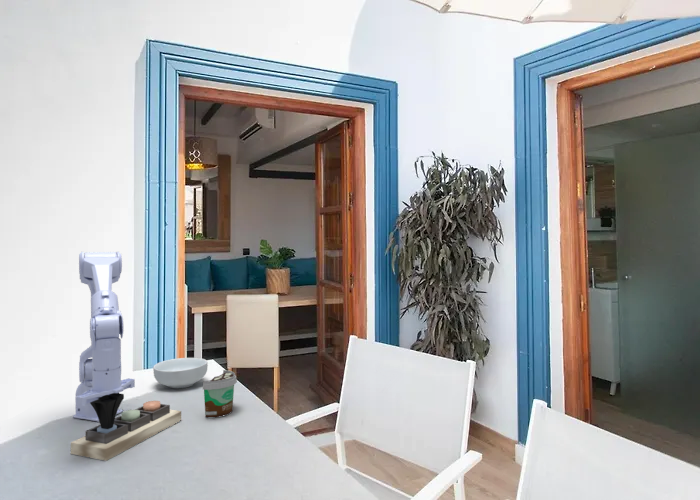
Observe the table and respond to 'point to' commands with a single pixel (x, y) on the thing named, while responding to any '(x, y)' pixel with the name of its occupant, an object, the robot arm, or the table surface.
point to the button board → (124, 433)
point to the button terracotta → (151, 406)
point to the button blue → (106, 429)
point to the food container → (219, 394)
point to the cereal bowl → (180, 372)
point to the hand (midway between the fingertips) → (107, 427)
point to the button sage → (130, 415)
